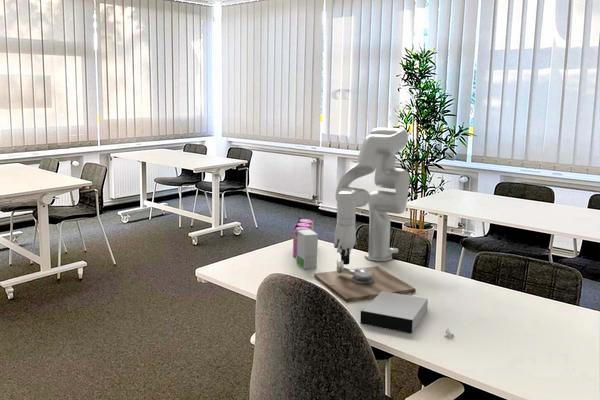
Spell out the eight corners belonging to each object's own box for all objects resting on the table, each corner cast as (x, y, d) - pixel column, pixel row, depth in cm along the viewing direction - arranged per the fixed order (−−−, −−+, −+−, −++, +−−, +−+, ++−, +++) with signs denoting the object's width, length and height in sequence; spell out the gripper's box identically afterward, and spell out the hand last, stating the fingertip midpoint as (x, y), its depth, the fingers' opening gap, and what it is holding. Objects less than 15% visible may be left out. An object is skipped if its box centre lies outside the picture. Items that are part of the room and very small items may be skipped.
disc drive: (360, 325, 193) (360, 311, 192) (380, 302, 213) (381, 290, 212) (411, 335, 186) (412, 320, 185) (427, 311, 206) (428, 298, 205)
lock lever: (376, 276, 232) (376, 264, 231) (364, 282, 225) (365, 270, 224) (343, 268, 242) (343, 257, 241) (330, 274, 234) (331, 262, 233)
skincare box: (296, 264, 256) (296, 230, 253) (309, 262, 259) (310, 229, 256) (304, 269, 249) (304, 234, 246) (317, 267, 252) (318, 233, 249)
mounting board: (377, 269, 250) (377, 263, 250) (415, 292, 223) (415, 286, 222) (314, 277, 239) (314, 271, 239) (345, 302, 212) (345, 295, 212)
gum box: (298, 243, 290) (298, 217, 288) (314, 244, 289) (314, 217, 287) (292, 257, 267) (292, 229, 264) (309, 258, 266) (310, 229, 263)
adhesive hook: (446, 334, 186) (447, 325, 186) (454, 337, 185) (455, 328, 184) (442, 338, 184) (443, 328, 183) (450, 340, 182) (451, 331, 182)
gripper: (348, 216, 243) (347, 257, 247) (328, 223, 232) (327, 266, 235) (363, 219, 239) (362, 261, 242) (343, 226, 227) (342, 270, 231)
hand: (345, 263), depth 239 cm, fingers closed
